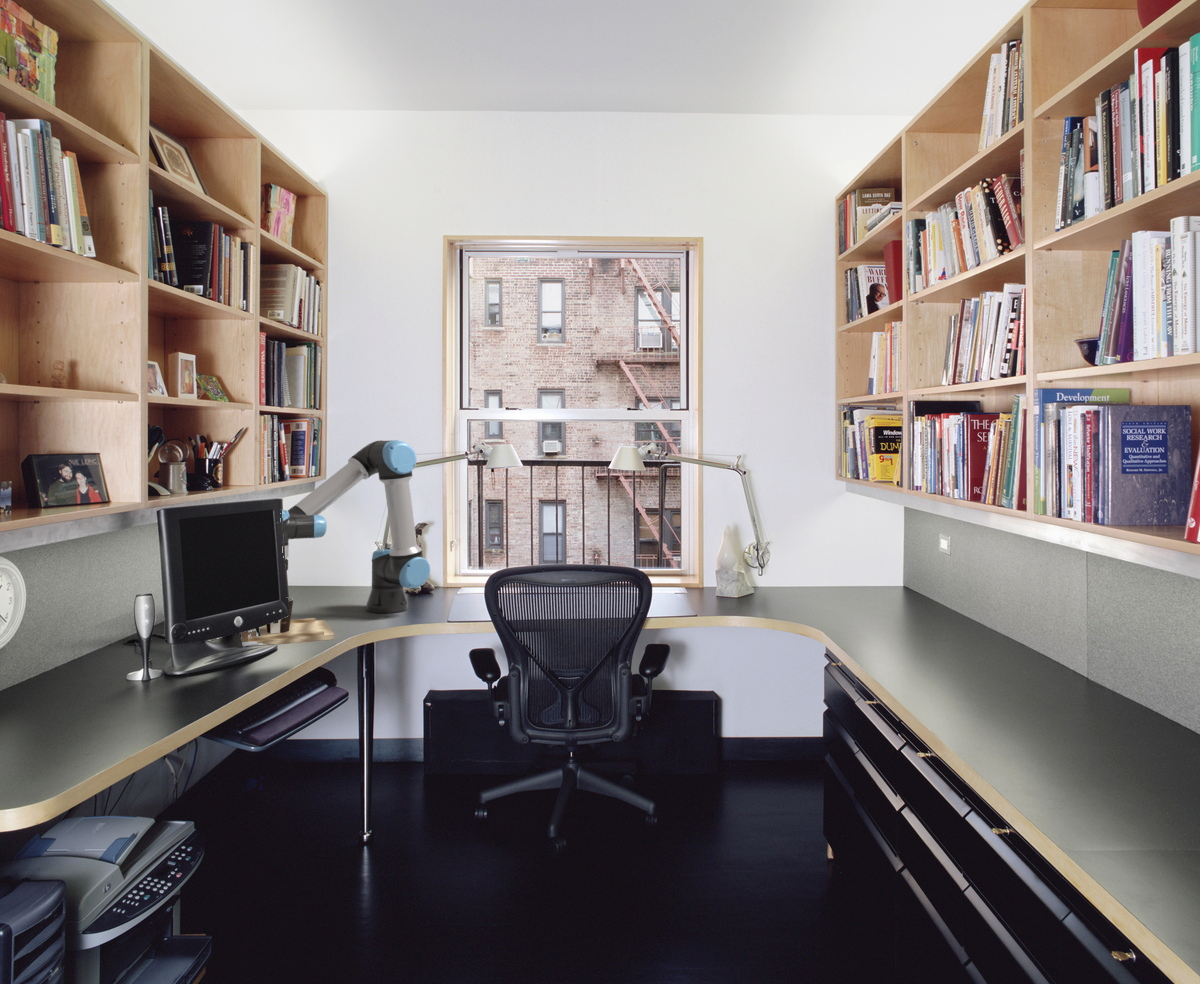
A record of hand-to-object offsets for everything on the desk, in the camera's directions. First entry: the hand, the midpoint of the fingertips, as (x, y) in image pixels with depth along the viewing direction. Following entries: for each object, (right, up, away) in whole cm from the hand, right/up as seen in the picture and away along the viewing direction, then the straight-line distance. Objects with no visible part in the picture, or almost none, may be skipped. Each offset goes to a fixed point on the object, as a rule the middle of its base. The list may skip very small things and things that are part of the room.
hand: (274, 630), depth 223 cm
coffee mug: (-1, 0, +1) cm, 1 cm away
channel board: (+3, -2, +2) cm, 4 cm away
